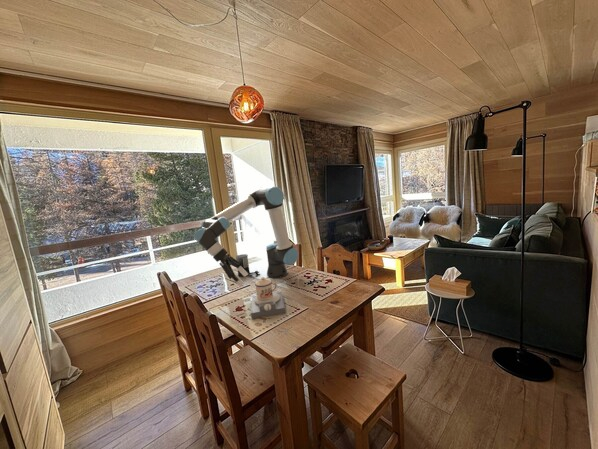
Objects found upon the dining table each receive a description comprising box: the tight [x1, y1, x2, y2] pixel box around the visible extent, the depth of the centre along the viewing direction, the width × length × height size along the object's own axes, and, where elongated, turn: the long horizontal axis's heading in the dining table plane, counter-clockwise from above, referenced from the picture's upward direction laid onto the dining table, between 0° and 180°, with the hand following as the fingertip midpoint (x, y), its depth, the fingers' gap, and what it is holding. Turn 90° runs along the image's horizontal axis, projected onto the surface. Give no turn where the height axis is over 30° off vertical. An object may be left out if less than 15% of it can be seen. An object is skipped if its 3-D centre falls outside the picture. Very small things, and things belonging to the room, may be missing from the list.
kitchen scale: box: [250, 291, 286, 319], centre depth 137 cm, size 20×17×6 cm
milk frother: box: [235, 253, 260, 277], centre depth 191 cm, size 14×16×15 cm
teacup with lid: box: [254, 276, 278, 301], centre depth 139 cm, size 12×9×12 cm
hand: (244, 279), depth 141 cm, fingers open, 13 cm apart
